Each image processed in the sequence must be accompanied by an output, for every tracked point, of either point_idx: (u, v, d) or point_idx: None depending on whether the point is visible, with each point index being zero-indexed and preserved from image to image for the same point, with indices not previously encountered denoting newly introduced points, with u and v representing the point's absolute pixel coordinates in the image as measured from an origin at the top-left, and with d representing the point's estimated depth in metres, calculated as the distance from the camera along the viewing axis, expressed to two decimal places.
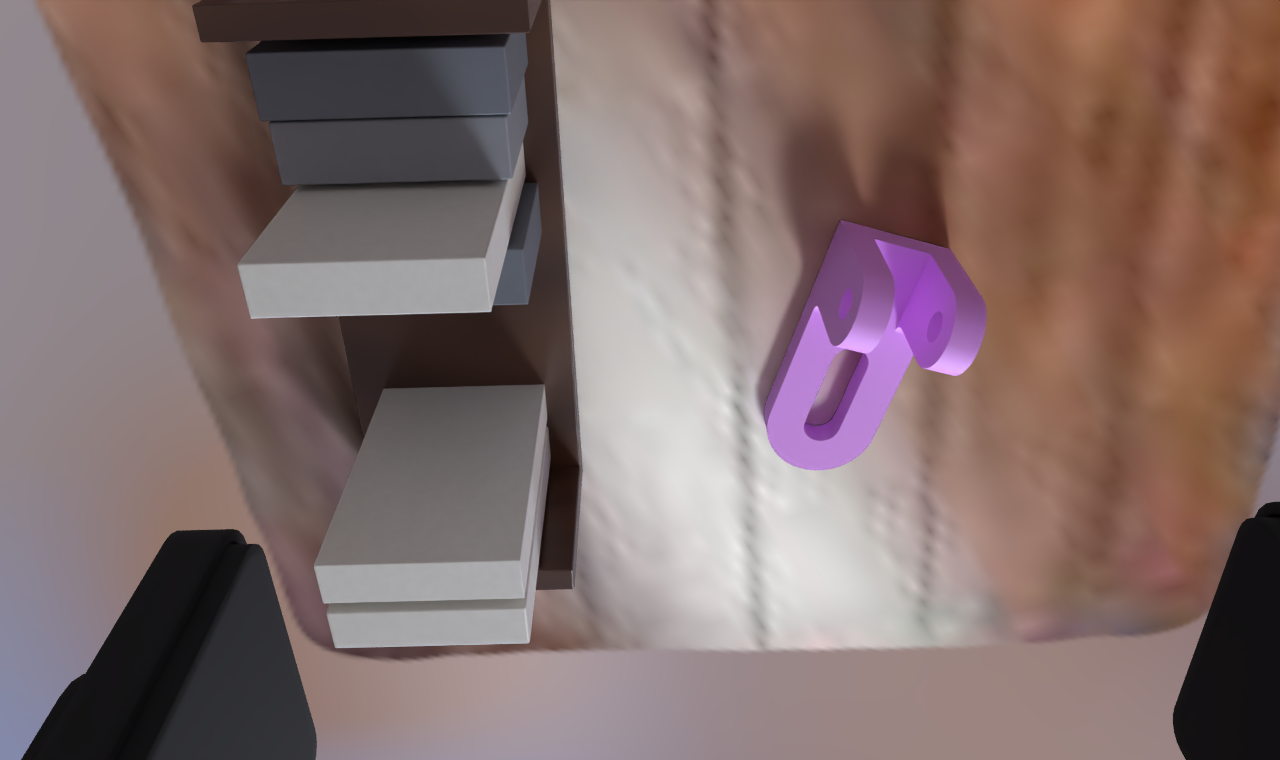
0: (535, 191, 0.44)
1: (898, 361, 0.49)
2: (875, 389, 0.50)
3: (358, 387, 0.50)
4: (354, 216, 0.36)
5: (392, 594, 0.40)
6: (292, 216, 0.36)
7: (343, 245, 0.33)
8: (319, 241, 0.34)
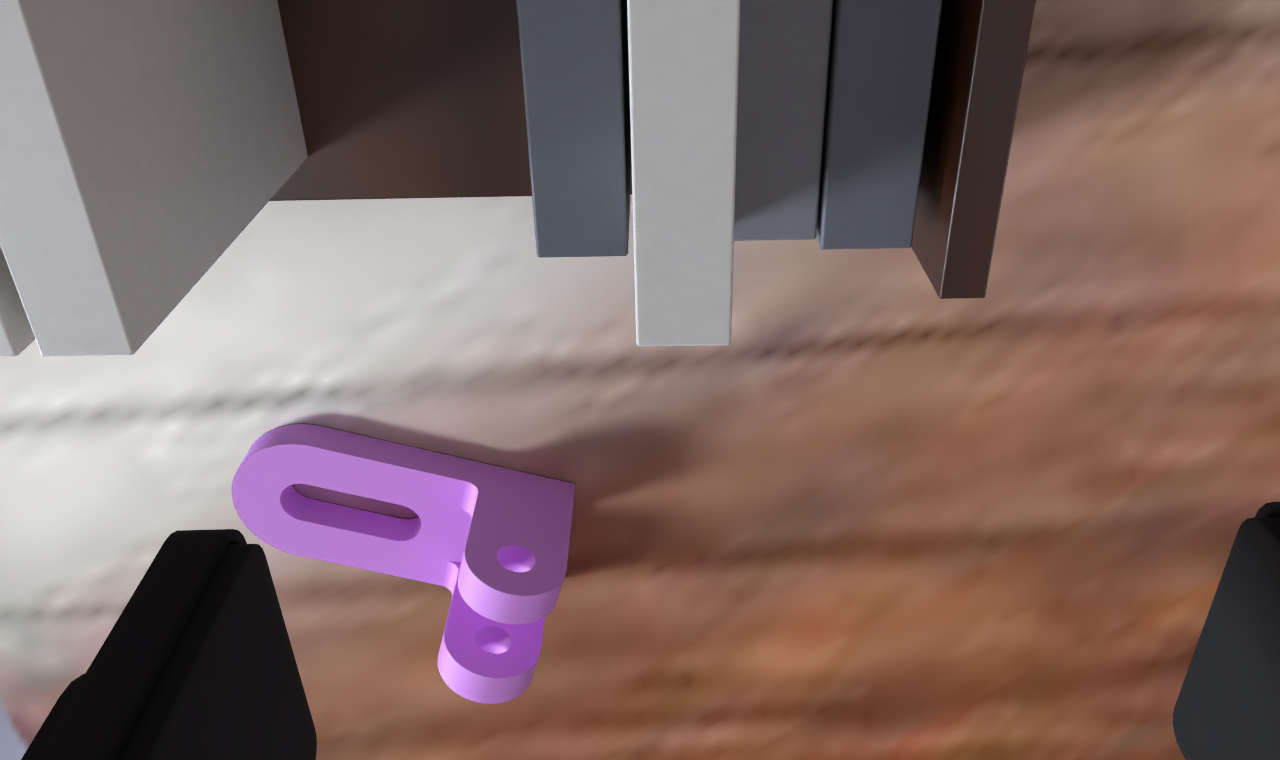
0: None
1: (409, 568, 0.42)
2: (366, 551, 0.41)
3: None
4: None
5: None
6: None
7: None
8: None
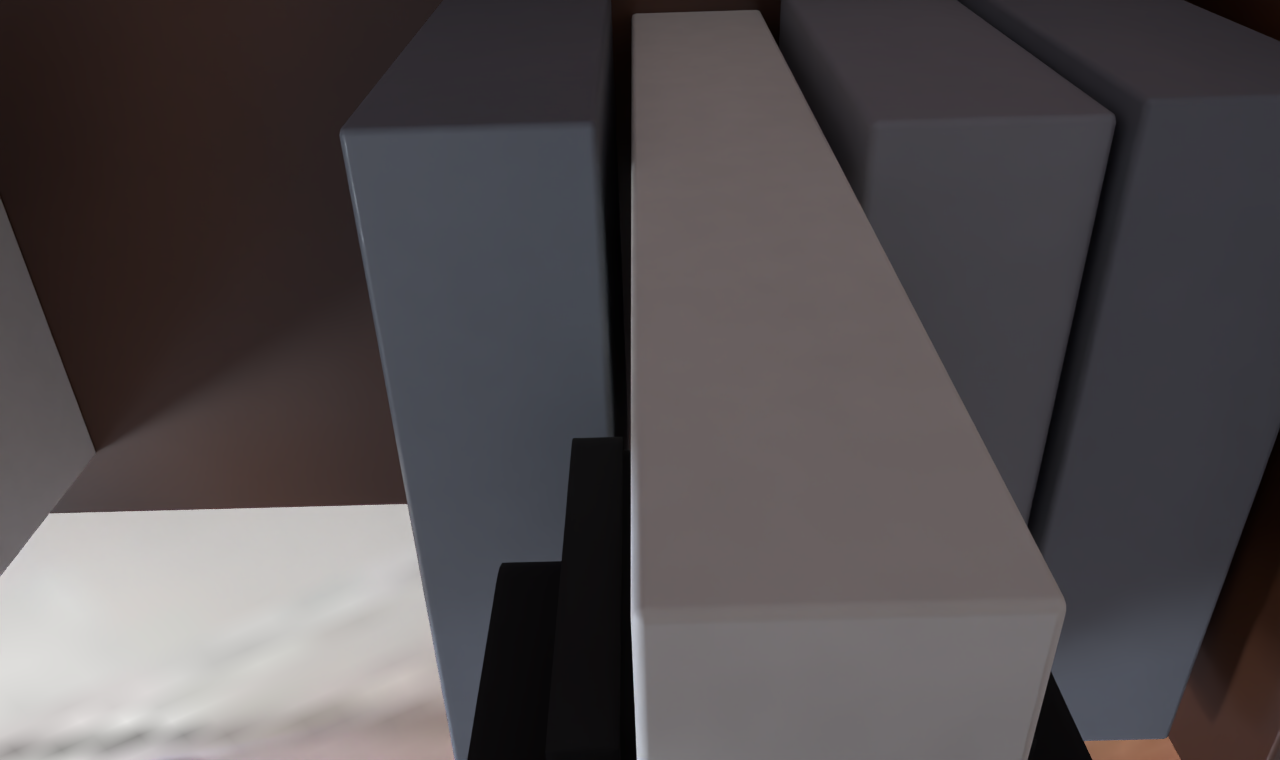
0: None
1: None
2: None
3: None
4: None
5: None
6: None
7: None
8: None
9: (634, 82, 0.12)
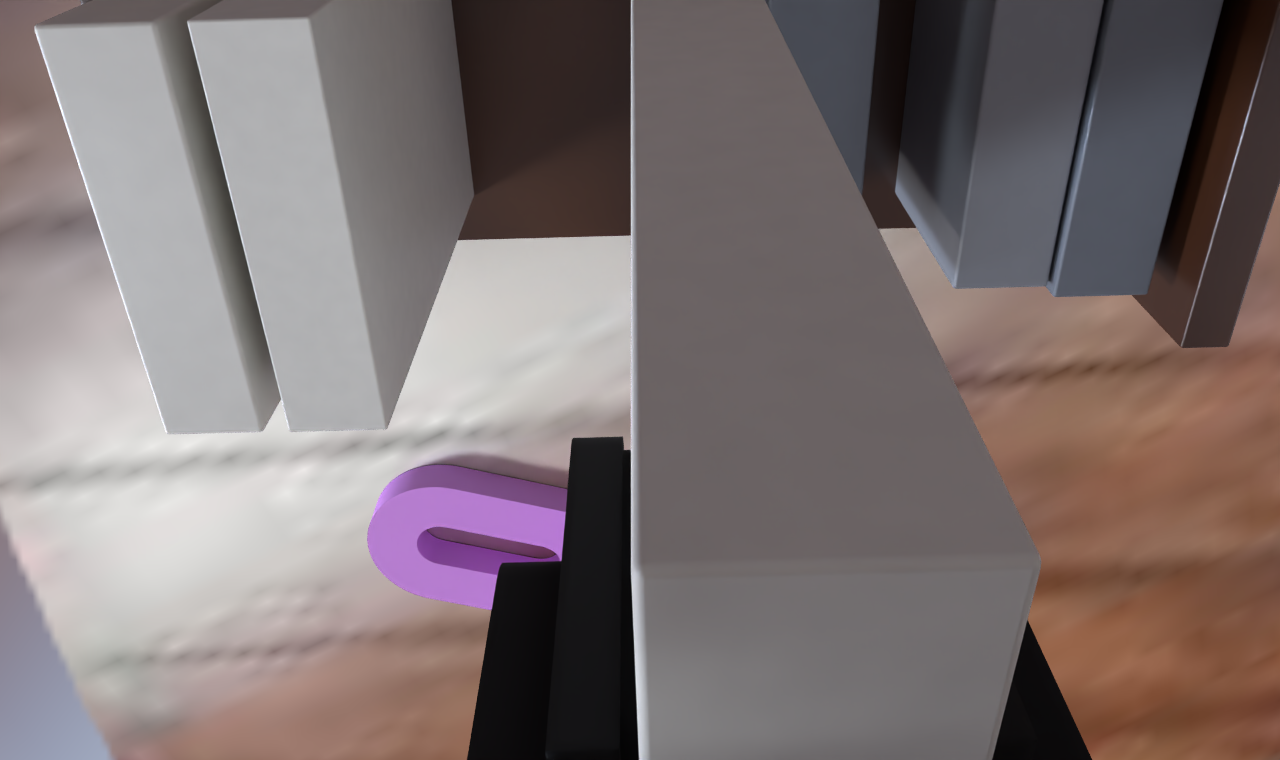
0: None
1: None
2: None
3: None
4: None
5: (250, 188, 0.18)
6: None
7: None
8: None
9: (633, 59, 0.12)
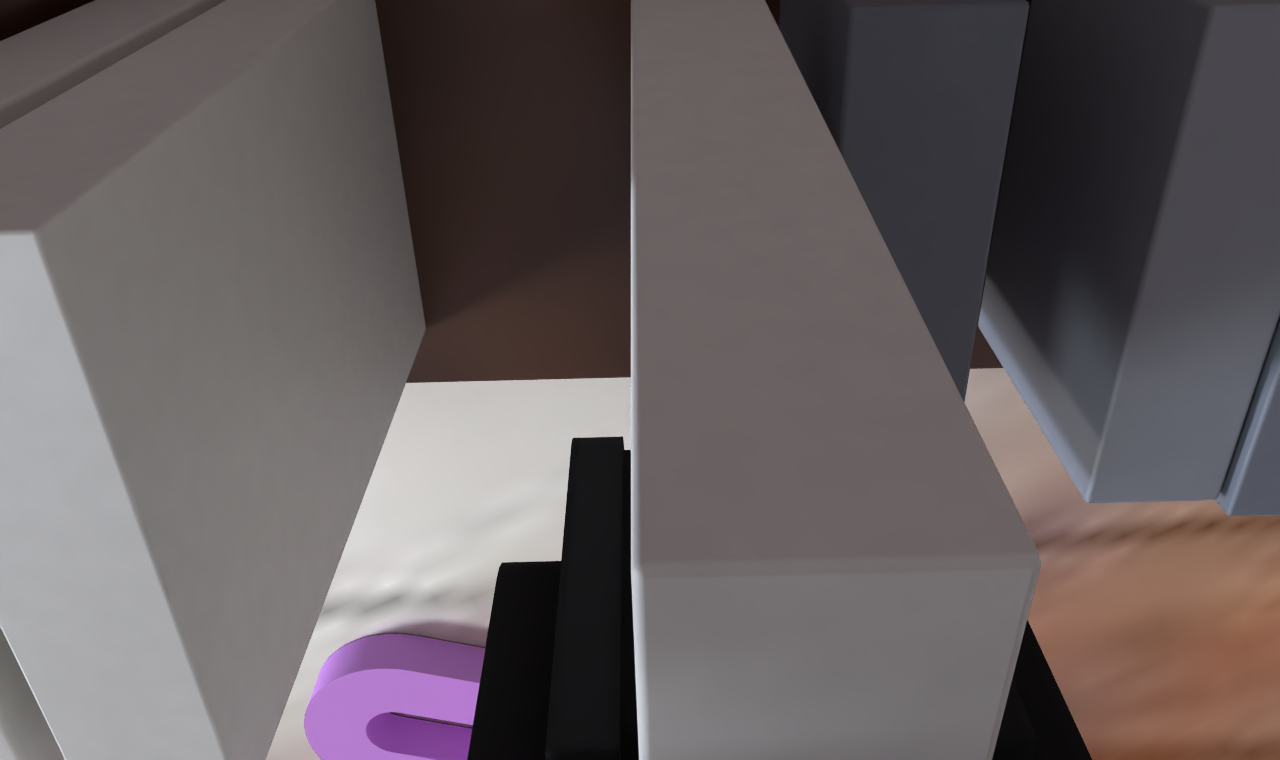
0: None
1: None
2: None
3: None
4: None
5: None
6: None
7: None
8: None
9: (633, 58, 0.12)
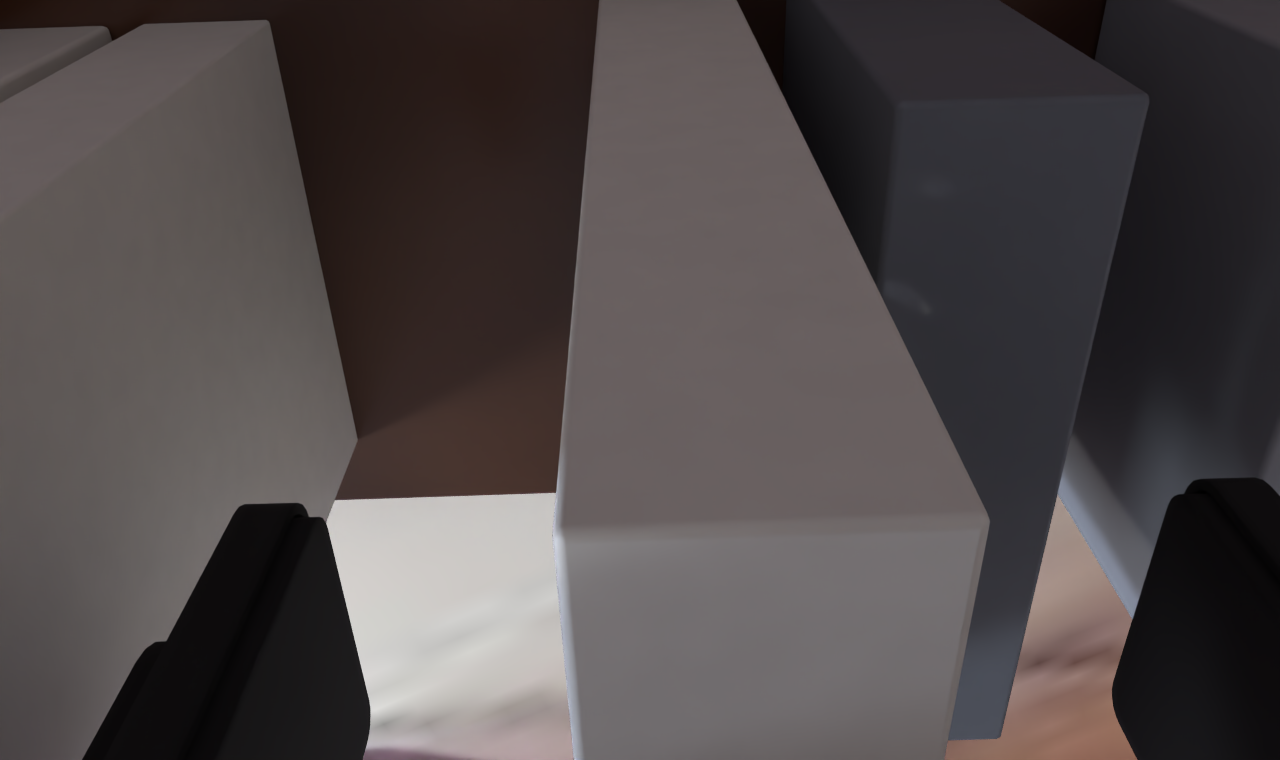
0: None
1: None
2: None
3: None
4: None
5: None
6: None
7: None
8: None
9: (597, 48, 0.12)
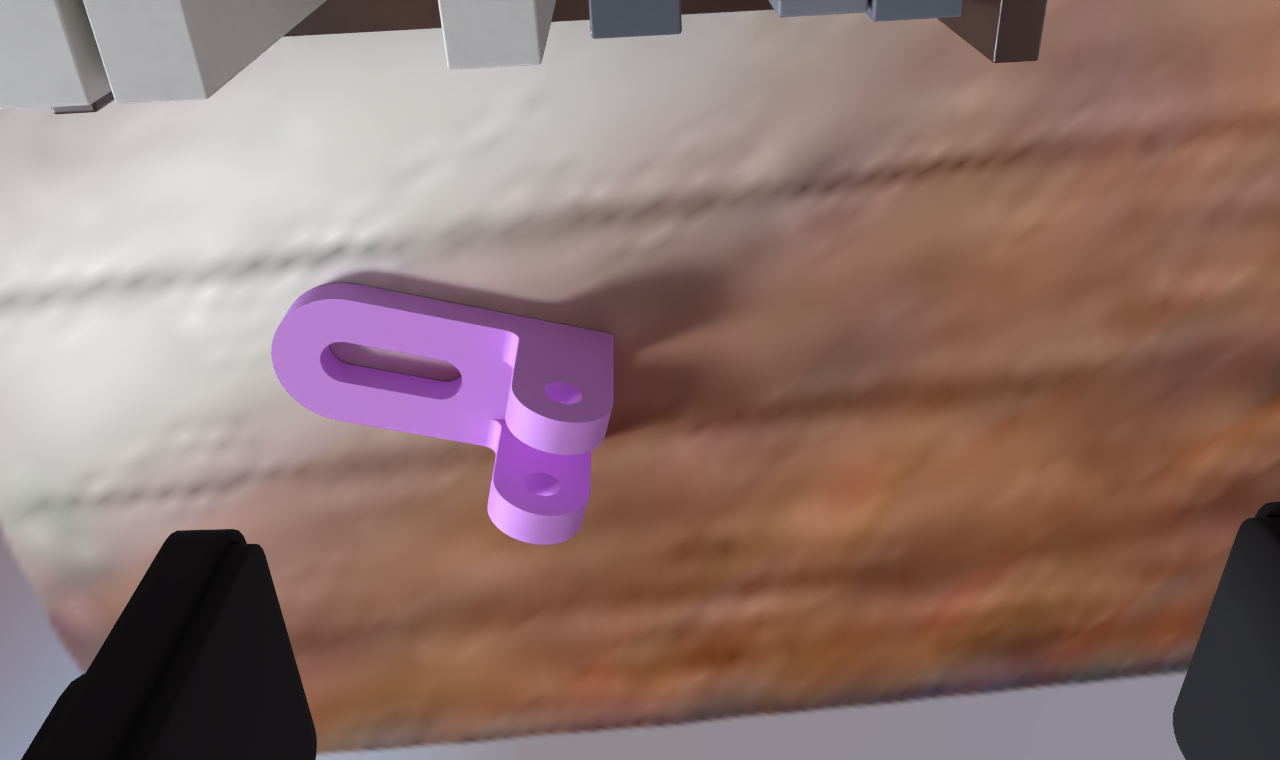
0: None
1: (451, 429, 0.42)
2: (408, 412, 0.41)
3: None
4: None
5: None
6: None
7: None
8: None
9: None
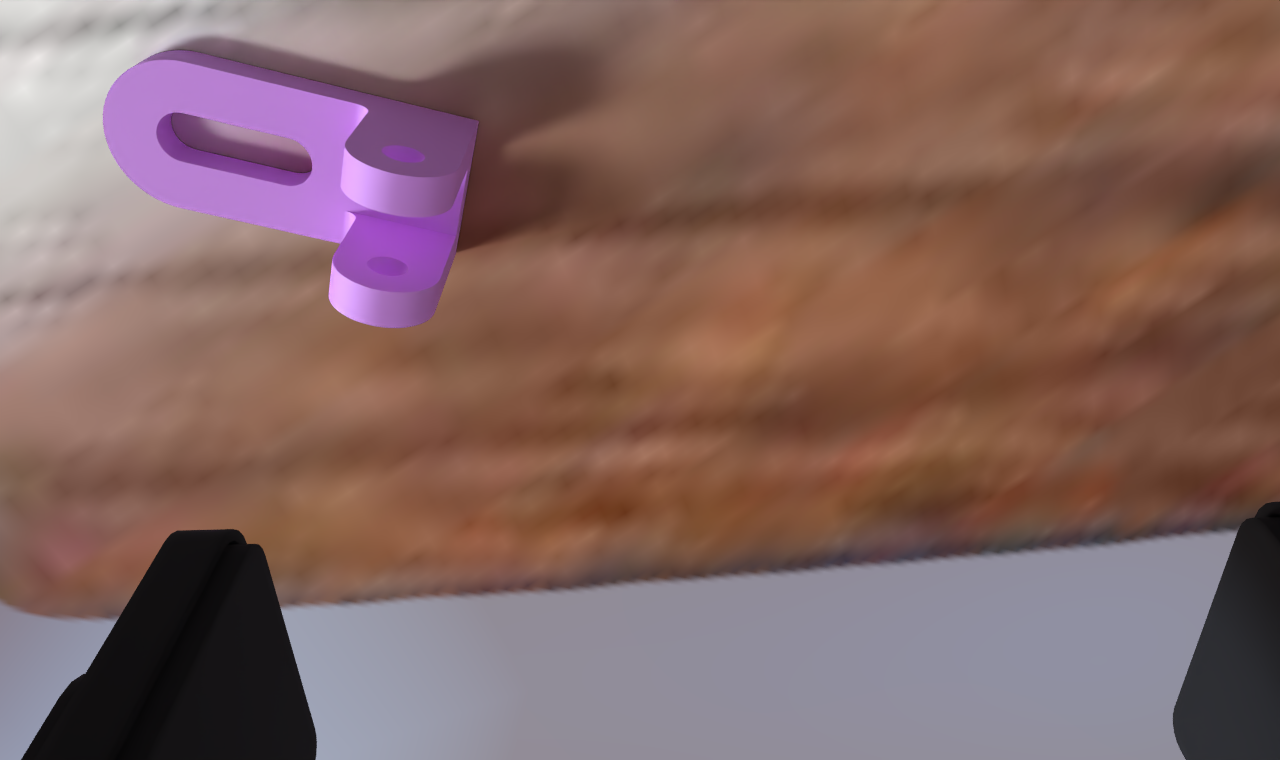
0: None
1: (304, 222, 0.39)
2: (256, 200, 0.38)
3: None
4: None
5: None
6: None
7: None
8: None
9: None
